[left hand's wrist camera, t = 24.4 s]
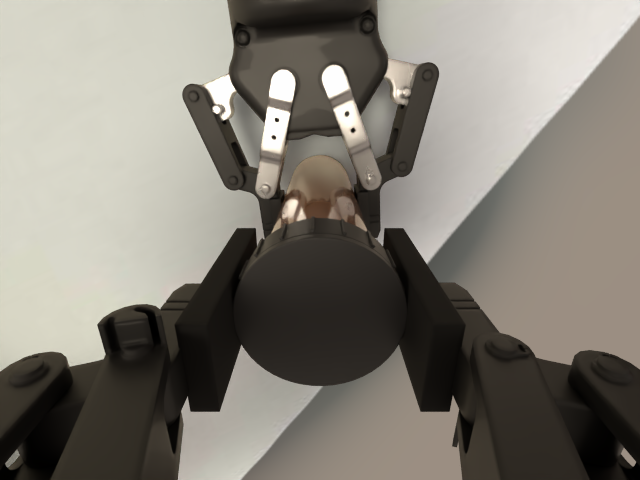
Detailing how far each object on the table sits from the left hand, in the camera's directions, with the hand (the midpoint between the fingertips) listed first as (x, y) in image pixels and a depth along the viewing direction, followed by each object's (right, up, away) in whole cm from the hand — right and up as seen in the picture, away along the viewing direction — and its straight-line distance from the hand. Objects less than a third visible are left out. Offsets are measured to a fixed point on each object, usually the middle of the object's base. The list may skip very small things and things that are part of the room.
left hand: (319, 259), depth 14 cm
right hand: (0, 0, +8) cm, 8 cm away
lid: (0, -1, -4) cm, 4 cm away
